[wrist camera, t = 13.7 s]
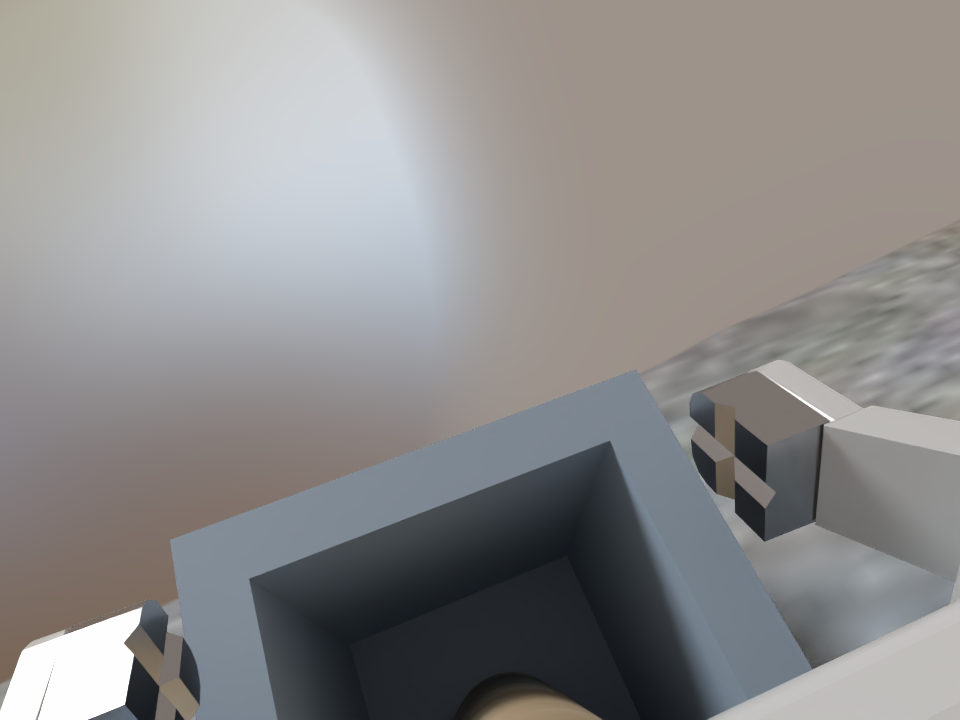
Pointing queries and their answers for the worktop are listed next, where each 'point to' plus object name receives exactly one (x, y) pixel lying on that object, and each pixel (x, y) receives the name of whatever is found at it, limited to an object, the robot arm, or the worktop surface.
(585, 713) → the peg
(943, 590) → the worktop surface
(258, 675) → the socket
